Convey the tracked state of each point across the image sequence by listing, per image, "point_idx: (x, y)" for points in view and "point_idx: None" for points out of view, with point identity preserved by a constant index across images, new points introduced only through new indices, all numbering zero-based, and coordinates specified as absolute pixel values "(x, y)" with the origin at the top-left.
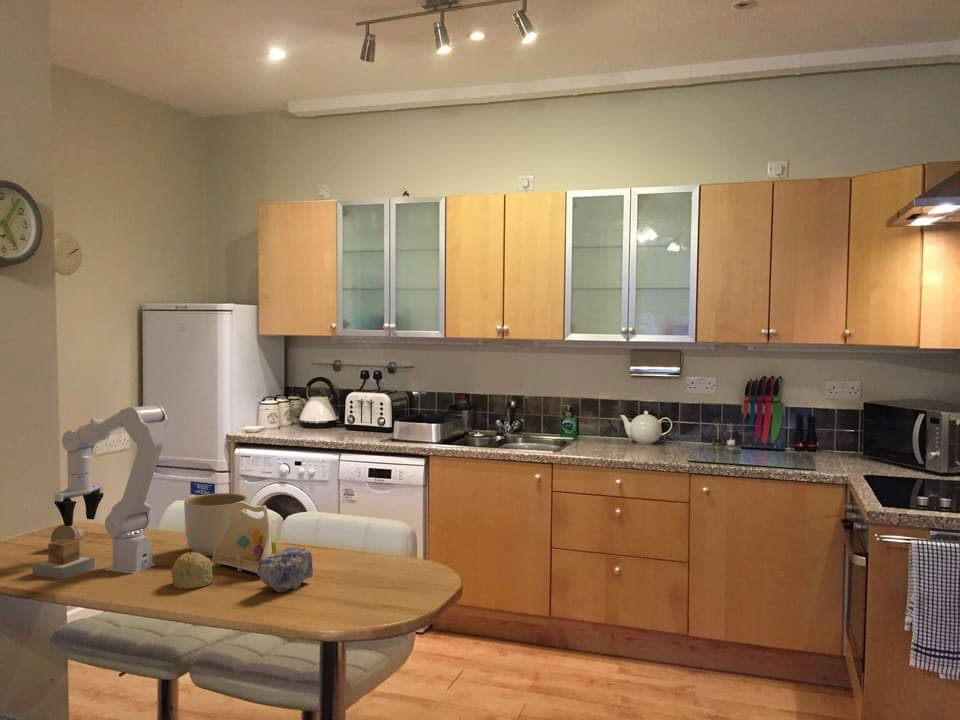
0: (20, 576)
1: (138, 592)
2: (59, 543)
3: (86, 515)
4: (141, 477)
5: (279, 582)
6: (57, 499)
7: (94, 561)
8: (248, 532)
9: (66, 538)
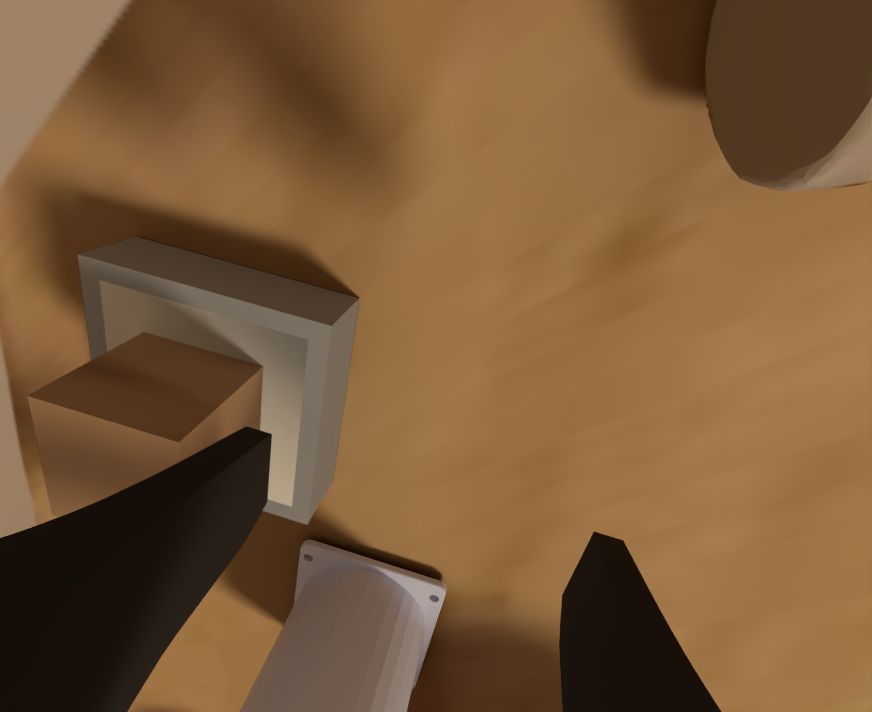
0: (108, 160)
1: (158, 680)
2: (69, 469)
3: (602, 565)
4: None
5: None
6: None
7: (315, 509)
8: None
9: (763, 80)
